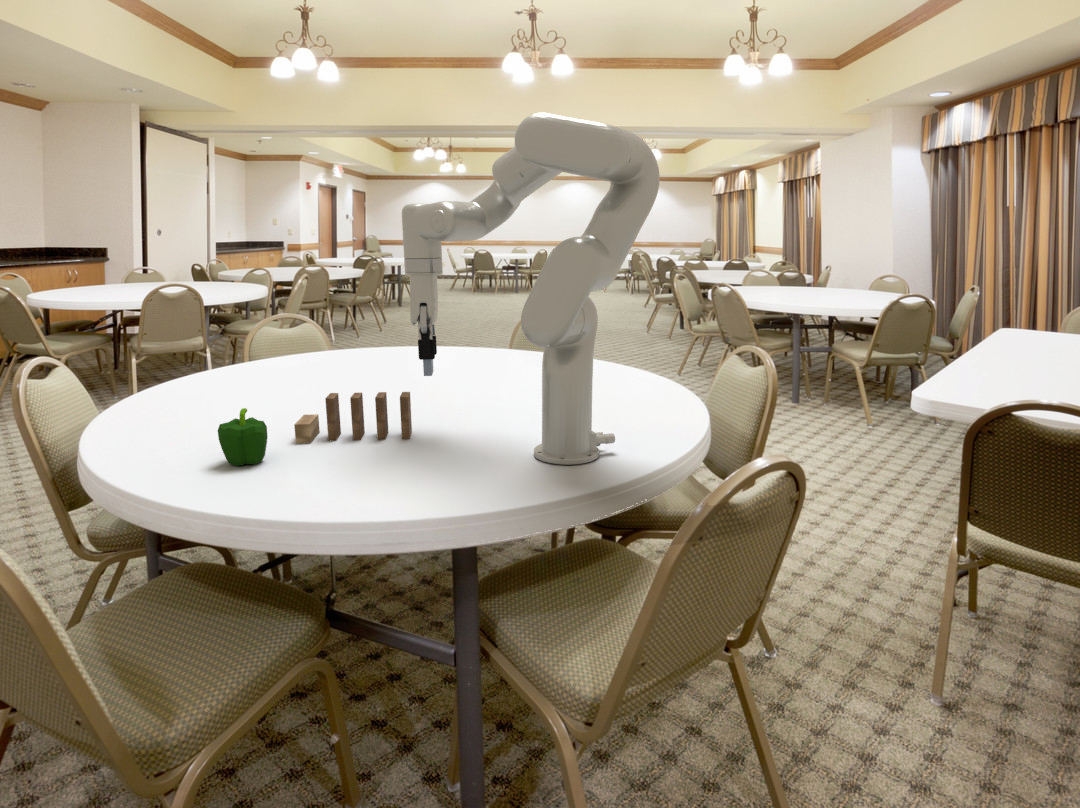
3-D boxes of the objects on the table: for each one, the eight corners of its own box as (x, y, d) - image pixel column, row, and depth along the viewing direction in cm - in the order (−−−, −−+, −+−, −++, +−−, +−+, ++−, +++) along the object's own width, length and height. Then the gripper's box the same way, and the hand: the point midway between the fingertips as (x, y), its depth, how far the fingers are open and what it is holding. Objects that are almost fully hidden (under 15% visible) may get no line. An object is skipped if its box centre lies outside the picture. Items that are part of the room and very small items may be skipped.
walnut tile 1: (411, 432, 153) (410, 391, 150) (409, 439, 148) (407, 397, 146) (404, 432, 152) (402, 391, 150) (401, 439, 148) (399, 397, 145)
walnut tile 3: (364, 433, 152) (362, 392, 150) (360, 440, 147) (358, 397, 145) (357, 433, 152) (354, 392, 150) (353, 440, 147) (350, 398, 145)
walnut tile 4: (341, 434, 151) (338, 392, 149) (336, 440, 147) (333, 398, 144) (333, 434, 151) (330, 393, 149) (328, 440, 146) (325, 398, 144)
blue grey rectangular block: (433, 371, 150) (431, 329, 148) (431, 375, 145) (429, 332, 143) (425, 371, 150) (423, 329, 148) (423, 376, 145) (421, 332, 143)
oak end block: (319, 432, 152) (318, 414, 152) (310, 443, 145) (309, 424, 144) (305, 432, 152) (303, 414, 151) (295, 443, 144) (294, 424, 144)
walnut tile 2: (388, 433, 152) (386, 392, 150) (385, 439, 147) (383, 397, 145) (380, 433, 152) (378, 392, 150) (377, 439, 147) (375, 397, 145)
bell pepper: (253, 471, 128) (248, 417, 125) (213, 468, 129) (207, 415, 127) (279, 457, 136) (274, 406, 133) (240, 454, 137) (235, 404, 135)
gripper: (409, 266, 150) (413, 351, 155) (399, 269, 134) (405, 364, 138) (444, 265, 151) (448, 350, 155) (439, 269, 134) (443, 363, 139)
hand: (428, 356), depth 147 cm, fingers closed on blue grey rectangular block, 4 cm apart
